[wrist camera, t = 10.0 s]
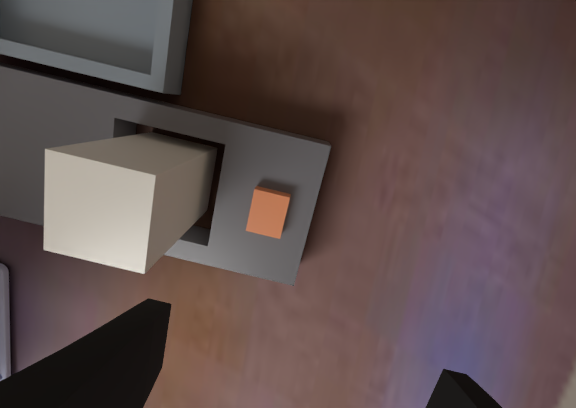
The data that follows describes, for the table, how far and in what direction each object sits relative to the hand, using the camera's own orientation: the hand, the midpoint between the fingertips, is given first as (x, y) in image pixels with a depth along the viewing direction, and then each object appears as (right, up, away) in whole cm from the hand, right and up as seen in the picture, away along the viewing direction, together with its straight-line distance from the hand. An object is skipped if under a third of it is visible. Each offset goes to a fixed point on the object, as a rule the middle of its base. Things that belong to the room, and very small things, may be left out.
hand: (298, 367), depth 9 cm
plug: (-6, +6, +8) cm, 12 cm away
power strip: (-11, +7, +8) cm, 15 cm away
